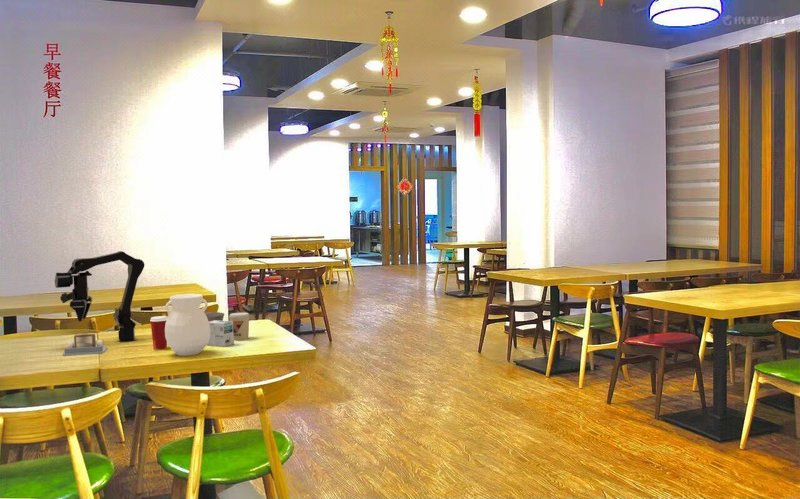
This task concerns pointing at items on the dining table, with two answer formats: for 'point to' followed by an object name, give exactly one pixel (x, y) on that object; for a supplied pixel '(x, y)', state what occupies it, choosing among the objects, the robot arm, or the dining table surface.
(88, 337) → the brown box shape
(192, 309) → the white vase
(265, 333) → the dining table surface
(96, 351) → the wall panel
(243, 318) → the coffee cup
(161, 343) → the paper cup
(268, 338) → the dining table surface
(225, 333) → the light bulb box
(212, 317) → the bowl
